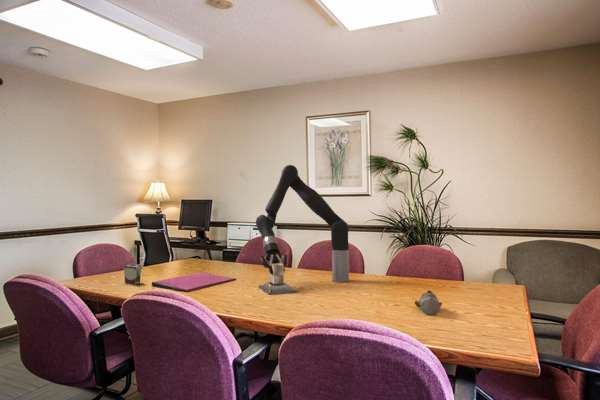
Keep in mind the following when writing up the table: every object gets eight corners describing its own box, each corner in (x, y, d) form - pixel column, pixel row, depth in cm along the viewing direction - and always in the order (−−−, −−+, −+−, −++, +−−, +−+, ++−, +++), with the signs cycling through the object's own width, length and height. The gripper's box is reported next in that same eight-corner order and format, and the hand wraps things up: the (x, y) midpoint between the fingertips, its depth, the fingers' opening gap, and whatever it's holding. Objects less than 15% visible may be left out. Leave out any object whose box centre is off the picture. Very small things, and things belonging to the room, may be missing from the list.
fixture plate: (284, 285, 211) (284, 277, 211) (296, 292, 194) (296, 284, 194) (258, 287, 206) (258, 279, 206) (268, 294, 190) (268, 286, 190)
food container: (147, 283, 217) (147, 265, 218) (137, 285, 212) (137, 266, 212) (133, 281, 224) (133, 263, 224) (123, 283, 219) (123, 264, 219)
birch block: (279, 280, 205) (279, 262, 205) (283, 283, 198) (283, 264, 198) (269, 281, 203) (269, 263, 203) (273, 283, 196) (273, 265, 196)
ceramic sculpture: (416, 292, 154) (413, 287, 168) (416, 315, 153) (413, 308, 168) (446, 294, 151) (440, 288, 166) (446, 317, 151) (440, 309, 166)
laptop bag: (201, 269, 241) (236, 275, 226) (201, 276, 241) (236, 282, 226) (144, 280, 207) (180, 287, 192) (144, 288, 207) (180, 295, 192)
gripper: (258, 242, 205) (265, 269, 194) (285, 241, 210) (293, 268, 199) (256, 251, 210) (262, 278, 199) (282, 250, 215) (289, 276, 204)
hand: (277, 273), depth 199 cm, fingers closed on birch block, 5 cm apart
